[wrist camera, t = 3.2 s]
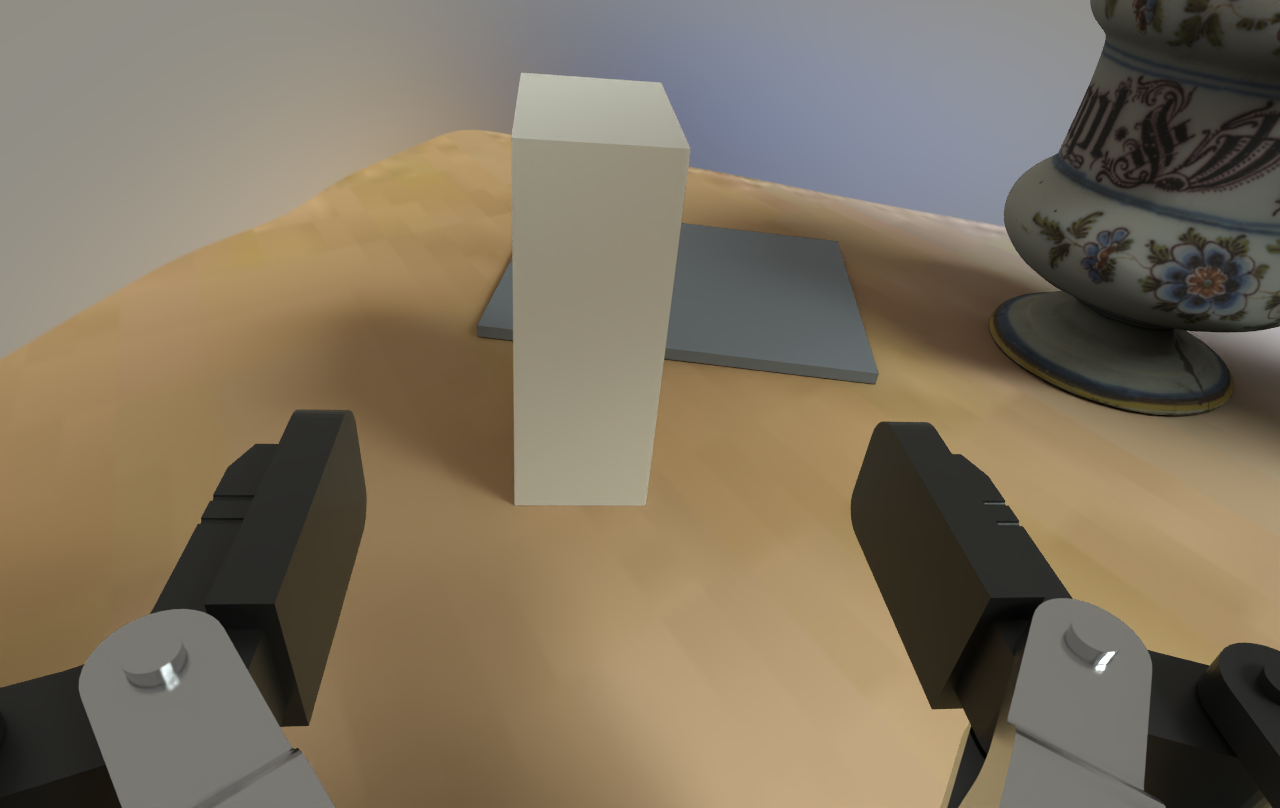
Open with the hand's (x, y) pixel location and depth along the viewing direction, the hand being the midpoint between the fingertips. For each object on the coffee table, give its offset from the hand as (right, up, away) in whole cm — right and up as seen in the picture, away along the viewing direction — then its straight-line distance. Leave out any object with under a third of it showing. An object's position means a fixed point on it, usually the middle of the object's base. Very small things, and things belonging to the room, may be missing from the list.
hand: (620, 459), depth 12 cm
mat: (+2, +6, +24) cm, 25 cm away
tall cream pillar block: (-2, -1, +14) cm, 14 cm away
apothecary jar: (+21, +3, +23) cm, 31 cm away
